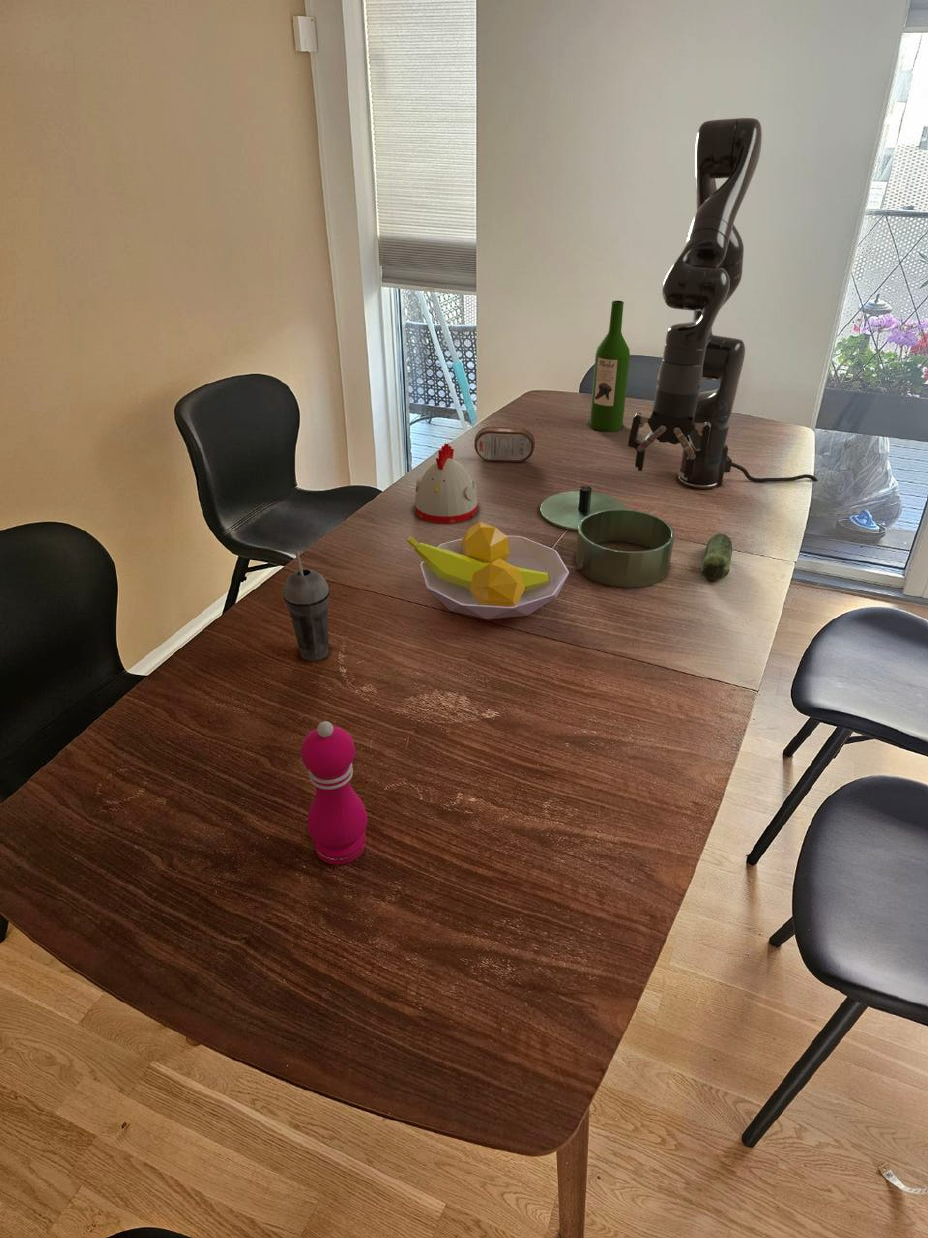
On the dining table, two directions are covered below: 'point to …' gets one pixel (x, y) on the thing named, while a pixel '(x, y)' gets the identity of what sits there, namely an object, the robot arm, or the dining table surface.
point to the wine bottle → (610, 376)
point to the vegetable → (717, 557)
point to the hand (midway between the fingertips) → (662, 473)
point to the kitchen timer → (445, 491)
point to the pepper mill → (333, 795)
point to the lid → (576, 507)
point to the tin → (504, 444)
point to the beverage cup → (308, 611)
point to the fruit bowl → (491, 573)
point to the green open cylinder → (623, 564)
